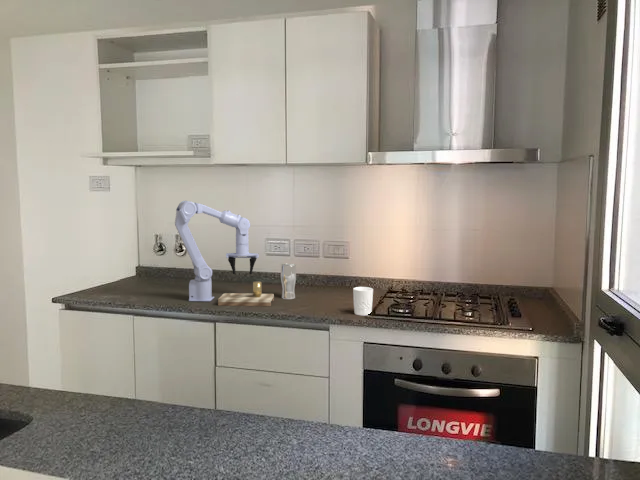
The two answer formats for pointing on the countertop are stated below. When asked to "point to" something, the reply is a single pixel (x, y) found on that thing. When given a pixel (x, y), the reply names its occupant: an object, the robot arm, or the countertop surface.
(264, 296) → the checkered wooden board
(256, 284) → the brass peg
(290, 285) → the beer glass
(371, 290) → the white cup
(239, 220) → the robot arm
